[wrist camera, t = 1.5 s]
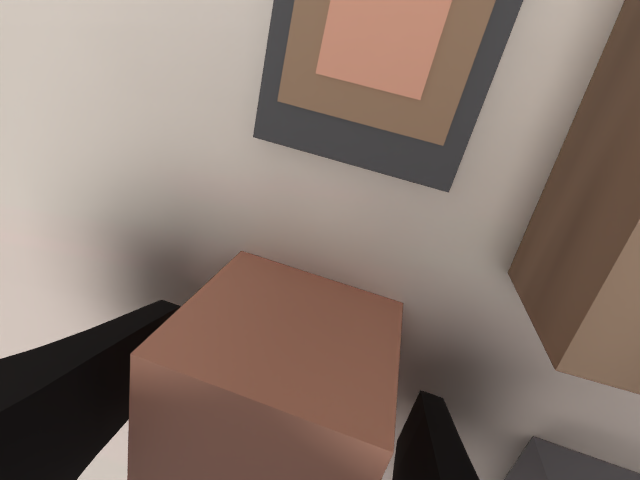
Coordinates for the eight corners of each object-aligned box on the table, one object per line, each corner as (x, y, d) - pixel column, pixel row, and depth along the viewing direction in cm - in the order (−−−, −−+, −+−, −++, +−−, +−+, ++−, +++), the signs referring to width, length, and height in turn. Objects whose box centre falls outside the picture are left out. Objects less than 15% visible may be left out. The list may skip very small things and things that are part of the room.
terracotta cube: (403, 301, 11) (393, 452, 6) (357, 421, 13) (325, 599, 8) (242, 249, 12) (130, 353, 7) (223, 371, 14) (126, 513, 9)
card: (567, -123, 7) (579, -141, 6) (447, 188, 9) (449, 194, 9) (306, -169, 7) (298, -188, 7) (259, 135, 10) (249, 137, 9)
